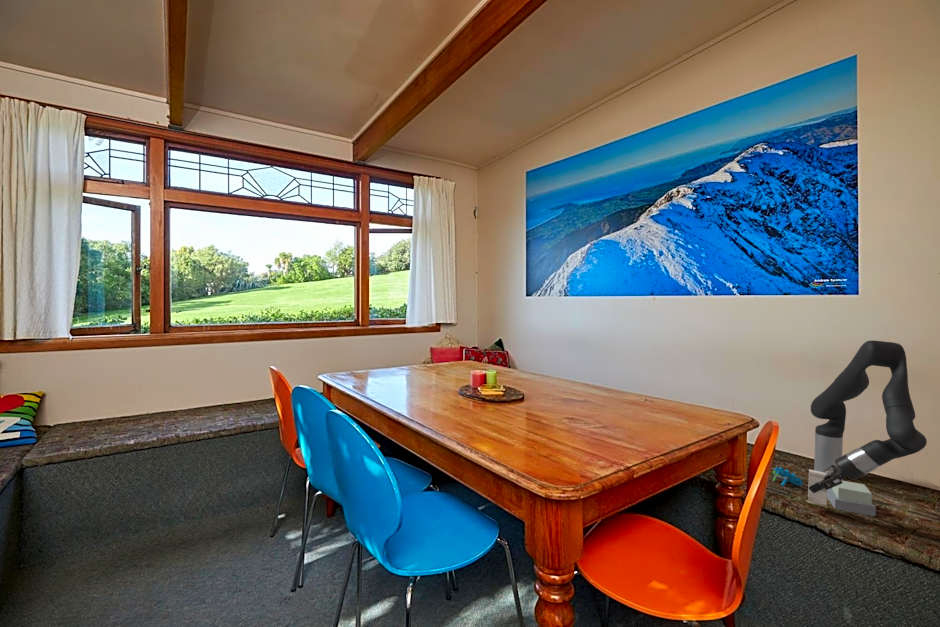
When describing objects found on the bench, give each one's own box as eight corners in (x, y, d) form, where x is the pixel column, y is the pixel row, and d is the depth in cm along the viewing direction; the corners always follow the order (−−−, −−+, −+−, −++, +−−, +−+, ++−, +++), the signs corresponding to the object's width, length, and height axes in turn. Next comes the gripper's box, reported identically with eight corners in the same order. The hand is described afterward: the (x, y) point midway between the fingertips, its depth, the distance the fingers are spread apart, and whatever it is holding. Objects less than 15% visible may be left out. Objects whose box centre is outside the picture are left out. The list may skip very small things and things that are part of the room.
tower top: (832, 489, 160) (832, 478, 160) (863, 495, 156) (864, 484, 156) (838, 498, 152) (838, 487, 152) (871, 504, 148) (871, 493, 148)
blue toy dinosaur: (809, 486, 167) (793, 469, 167) (801, 497, 166) (785, 480, 165) (783, 478, 178) (768, 462, 178) (776, 489, 177) (760, 473, 176)
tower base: (826, 498, 162) (827, 487, 162) (864, 504, 156) (865, 494, 156) (834, 510, 152) (835, 499, 152) (875, 517, 147) (875, 506, 147)
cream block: (808, 496, 154) (809, 469, 154) (825, 500, 151) (826, 472, 151) (808, 501, 150) (809, 473, 150) (826, 505, 147) (827, 477, 147)
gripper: (845, 448, 151) (801, 472, 159) (848, 460, 140) (801, 485, 147) (864, 466, 148) (819, 490, 156) (870, 480, 136) (820, 504, 144)
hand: (810, 487), depth 151 cm, fingers closed on cream block, 5 cm apart
